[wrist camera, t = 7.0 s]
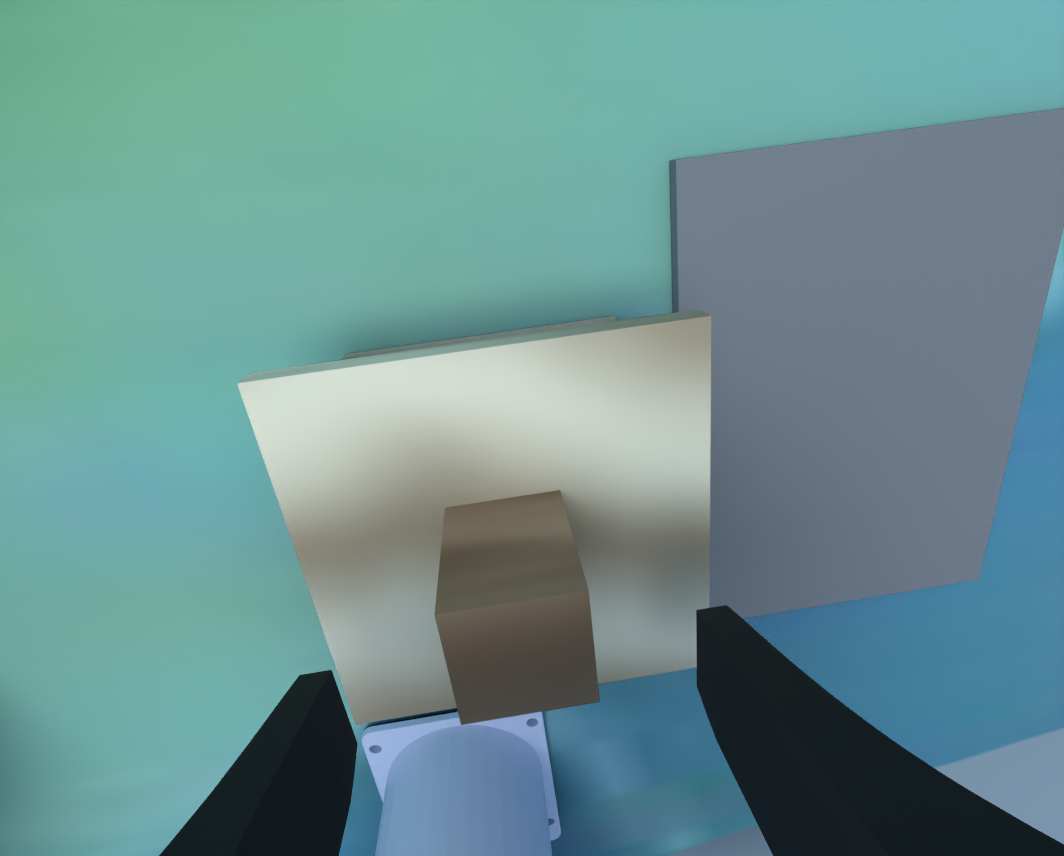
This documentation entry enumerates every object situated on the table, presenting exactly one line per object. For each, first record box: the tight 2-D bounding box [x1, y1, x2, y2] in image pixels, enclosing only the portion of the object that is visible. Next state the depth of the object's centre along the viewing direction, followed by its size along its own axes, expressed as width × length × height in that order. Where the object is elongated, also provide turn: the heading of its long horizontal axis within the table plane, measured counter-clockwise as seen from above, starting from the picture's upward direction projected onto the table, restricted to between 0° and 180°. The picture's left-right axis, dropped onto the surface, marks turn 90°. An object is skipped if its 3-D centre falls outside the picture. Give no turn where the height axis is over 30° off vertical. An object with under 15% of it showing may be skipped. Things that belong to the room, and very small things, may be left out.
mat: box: [670, 108, 1064, 619], centre depth 21 cm, size 18×13×1 cm
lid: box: [237, 309, 711, 725], centre depth 14 cm, size 11×11×5 cm
